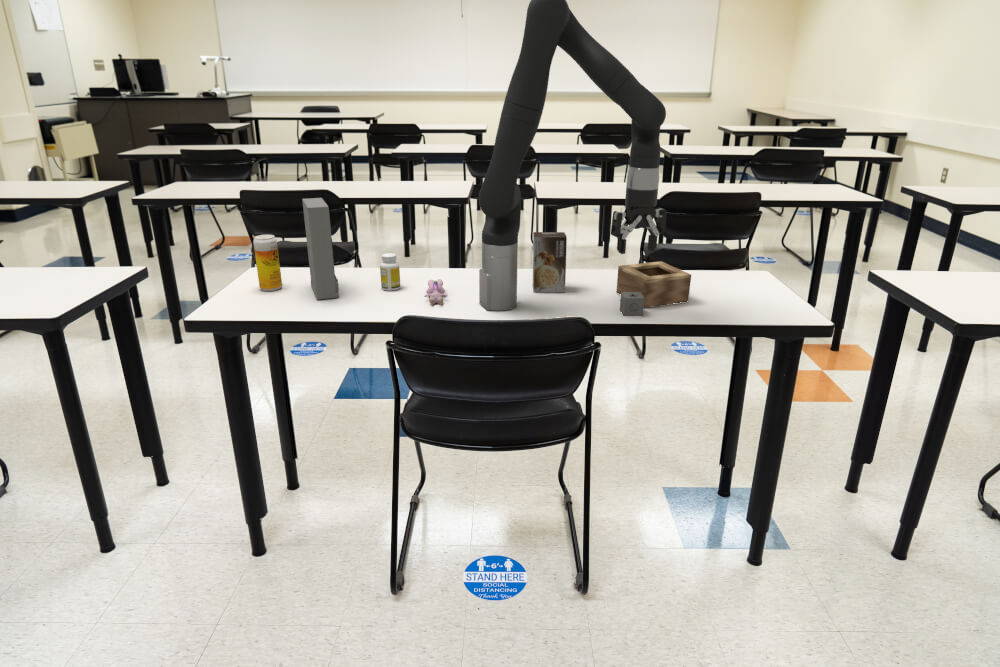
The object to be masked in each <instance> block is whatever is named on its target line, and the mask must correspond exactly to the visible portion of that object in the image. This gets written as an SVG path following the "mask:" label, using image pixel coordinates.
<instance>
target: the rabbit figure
mask: <svg viewBox="0 0 1000 667" xmlns="http://www.w3.org/2000/svg"><path fill="white" fill-rule="evenodd" d="M427 285H428V287H427V289H426V294H424V297H425V298H427V297H429V303H430V306H431V307H433V306H434V305H435V304H437V305H439V306H443V301H444V299H443V296H445V297H448V294H447V293H446V290H445V288H444V287H443V285H444V282H443V280H442V279H437V280H434V279H429V280H428V281H427Z"/></svg>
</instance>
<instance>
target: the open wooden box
mask: <svg viewBox="0 0 1000 667" xmlns="http://www.w3.org/2000/svg"><path fill="white" fill-rule="evenodd" d="M617 269H618V270H617V279H616V292H617V293H616V294H618V293H619V294H618V295H620V294H621V292H641V294H642V295H643V297H644V298H645V300H644V307H650V308H652V307H651V306H657V307H661V306H660V305H665V306H668V305H667V304H672V305H674V304H673V303H680V302H687V301H688V302H689V297H690V291H691V290H690V289H691V281H692V274H690V273H688V272H686V271H684V270H682V269H680V268H678V267H675V266H672V265H670V264H668V263H666V262H664V261H662V260H661V261H652V262H651V261H650V262H641V263H631V264H623V265H618V267H617ZM688 302H687V303H688ZM680 304H681V303H680Z"/></svg>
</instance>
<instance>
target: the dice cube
mask: <svg viewBox="0 0 1000 667" xmlns="http://www.w3.org/2000/svg"><path fill="white" fill-rule="evenodd" d="M644 300H645V298H644V297H643V295H642V294H641V292H621V295H620V300H619V311H620V313H621V312H622V313H621V315H622V314H623V315H622V316H643V317H644V310H645V308H644Z"/></svg>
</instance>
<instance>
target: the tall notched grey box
mask: <svg viewBox="0 0 1000 667" xmlns="http://www.w3.org/2000/svg"><path fill="white" fill-rule="evenodd" d="M302 208H303V210H302V211H303V219H304V226H305V227H304V228H305V236H306V238H305V239H306V247H307V248H306V249H307V256H308V265H309V274H310V276H309V277H310V286H311V288H312V290H313V294H314V296H315V298H316V300H317V301H320V300H325V299H326V300H327V299H337V298H340V288H339V279H338V278H337V276H336V272H335V258H334V247H333V246H334V245H333V239H332V229H331V228H332V227H331V218H330V208H329V205H328V204H327V203H326V201H325V200H324V198H323V197H315V198H314V197H313V198H302Z"/></svg>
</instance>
